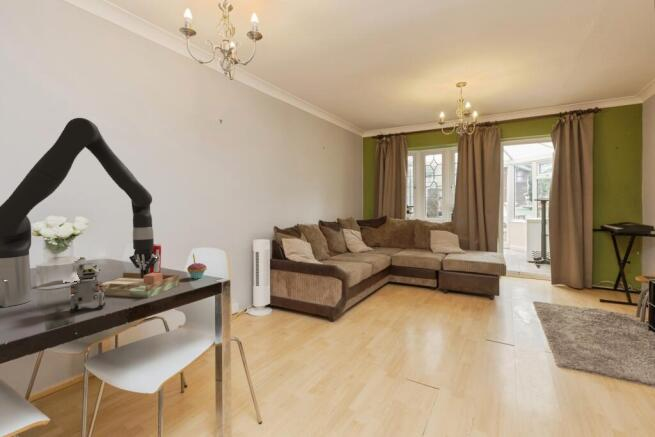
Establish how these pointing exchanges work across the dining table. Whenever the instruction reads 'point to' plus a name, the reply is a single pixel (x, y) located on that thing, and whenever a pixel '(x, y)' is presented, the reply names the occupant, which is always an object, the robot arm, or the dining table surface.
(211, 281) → the dining table surface
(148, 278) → the block
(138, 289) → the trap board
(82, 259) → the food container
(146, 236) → the robot arm
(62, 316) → the dining table surface
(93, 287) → the figurine
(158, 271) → the beverage can
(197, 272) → the cupcake
